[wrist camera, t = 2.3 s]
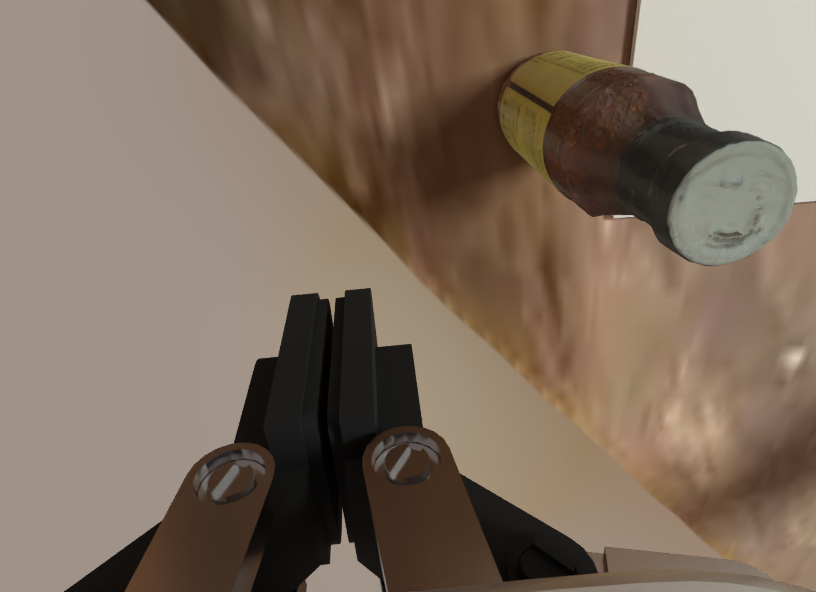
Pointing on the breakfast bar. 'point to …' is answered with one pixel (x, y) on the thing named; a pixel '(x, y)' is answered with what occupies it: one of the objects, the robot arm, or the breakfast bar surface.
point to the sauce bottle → (646, 155)
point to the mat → (740, 68)
